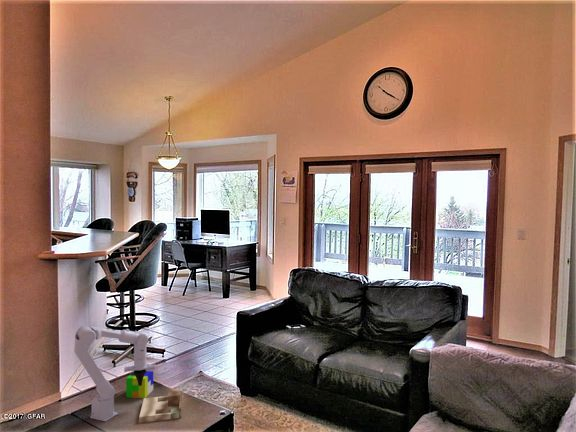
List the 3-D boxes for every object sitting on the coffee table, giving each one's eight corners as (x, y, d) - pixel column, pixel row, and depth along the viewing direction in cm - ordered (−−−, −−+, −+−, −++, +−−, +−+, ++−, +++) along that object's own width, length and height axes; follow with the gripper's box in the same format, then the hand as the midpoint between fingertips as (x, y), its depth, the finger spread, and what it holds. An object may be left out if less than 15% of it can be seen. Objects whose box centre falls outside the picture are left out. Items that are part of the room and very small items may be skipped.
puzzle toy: (153, 389, 217) (153, 371, 217) (144, 398, 207) (144, 378, 207) (135, 388, 218) (135, 370, 218) (126, 397, 208) (126, 378, 208)
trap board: (139, 422, 183) (139, 412, 183) (144, 403, 201) (144, 394, 201) (181, 417, 187) (181, 408, 187) (182, 399, 206) (182, 390, 206)
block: (167, 406, 192) (167, 396, 192) (168, 402, 197) (168, 391, 197) (178, 405, 194) (178, 395, 194) (179, 401, 198) (179, 390, 198)
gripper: (156, 353, 204) (156, 380, 204) (125, 355, 200) (125, 382, 201) (155, 358, 197) (155, 386, 197) (123, 360, 194) (123, 389, 194)
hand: (140, 384), depth 198 cm, fingers closed
